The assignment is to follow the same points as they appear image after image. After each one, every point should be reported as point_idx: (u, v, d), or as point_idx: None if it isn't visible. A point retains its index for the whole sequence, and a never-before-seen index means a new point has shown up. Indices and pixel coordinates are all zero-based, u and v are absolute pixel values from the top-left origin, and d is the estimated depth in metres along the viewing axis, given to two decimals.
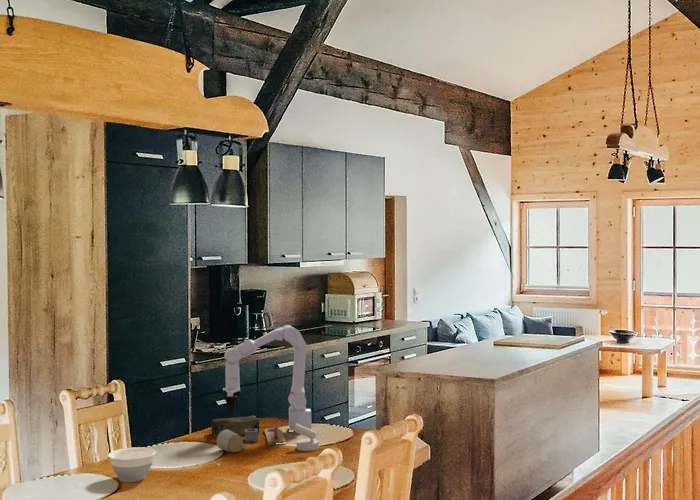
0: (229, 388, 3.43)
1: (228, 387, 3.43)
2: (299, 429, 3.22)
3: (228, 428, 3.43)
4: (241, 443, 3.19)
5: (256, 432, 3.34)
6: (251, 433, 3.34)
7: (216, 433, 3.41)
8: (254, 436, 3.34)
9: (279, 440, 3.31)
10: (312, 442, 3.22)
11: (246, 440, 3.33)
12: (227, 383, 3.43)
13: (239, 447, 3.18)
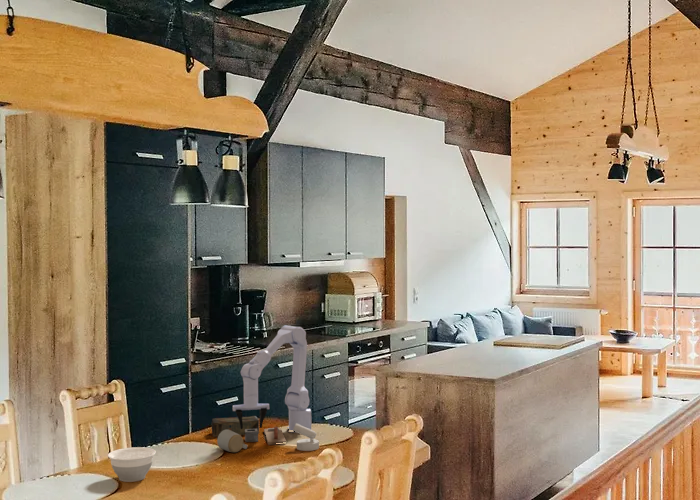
0: None
1: None
2: (299, 429, 3.22)
3: (226, 428, 3.43)
4: (242, 443, 3.19)
5: (256, 432, 3.34)
6: (251, 433, 3.34)
7: (214, 432, 3.42)
8: (254, 436, 3.34)
9: (279, 440, 3.31)
10: (312, 442, 3.22)
11: (246, 440, 3.33)
12: None
13: (240, 447, 3.18)
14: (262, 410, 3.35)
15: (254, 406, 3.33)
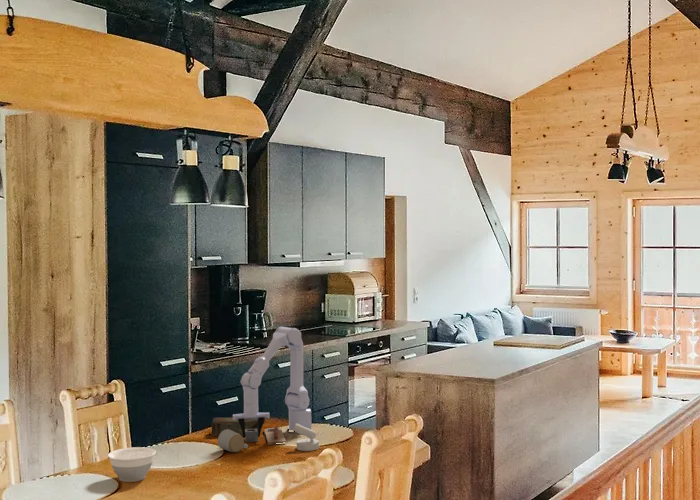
0: None
1: None
2: (299, 429, 3.22)
3: (225, 427, 3.44)
4: (242, 443, 3.19)
5: (256, 432, 3.34)
6: (251, 433, 3.34)
7: (213, 432, 3.44)
8: (254, 436, 3.34)
9: (279, 440, 3.31)
10: (312, 442, 3.22)
11: (246, 440, 3.33)
12: None
13: (240, 447, 3.18)
14: (262, 419, 3.35)
15: (254, 415, 3.34)
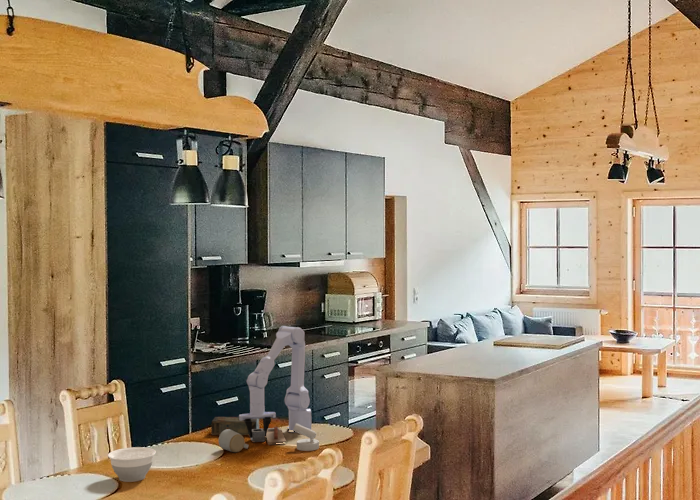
0: (250, 412, 3.35)
1: None
2: (299, 429, 3.22)
3: (224, 427, 3.45)
4: (243, 443, 3.19)
5: (263, 432, 3.34)
6: (258, 433, 3.33)
7: (212, 431, 3.45)
8: (261, 436, 3.34)
9: (279, 440, 3.31)
10: (312, 442, 3.22)
11: (253, 440, 3.33)
12: None
13: (241, 447, 3.19)
14: (269, 419, 3.35)
15: (261, 415, 3.33)
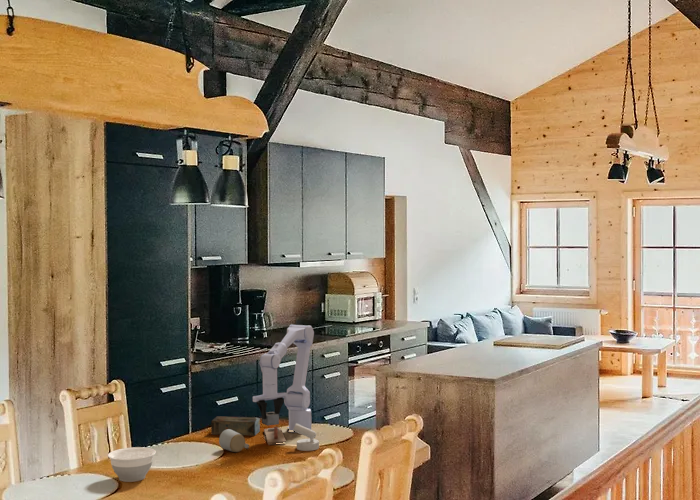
0: (263, 394, 3.33)
1: None
2: (299, 429, 3.22)
3: (223, 426, 3.46)
4: (243, 443, 3.19)
5: (277, 415, 3.33)
6: (272, 416, 3.32)
7: (212, 430, 3.47)
8: (275, 419, 3.33)
9: (279, 440, 3.31)
10: (312, 442, 3.22)
11: (268, 423, 3.31)
12: None
13: (241, 447, 3.19)
14: (282, 399, 3.35)
15: (275, 396, 3.32)
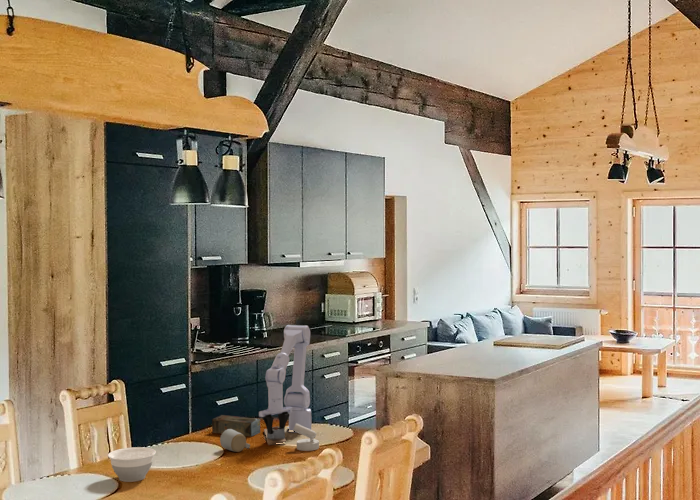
0: (268, 408, 3.33)
1: (268, 407, 3.33)
2: (299, 429, 3.22)
3: (222, 426, 3.47)
4: (244, 442, 3.20)
5: (283, 429, 3.33)
6: (279, 431, 3.32)
7: (213, 428, 3.49)
8: (281, 433, 3.33)
9: (279, 440, 3.31)
10: (312, 442, 3.22)
11: (274, 438, 3.31)
12: None
13: (242, 446, 3.19)
14: (287, 413, 3.35)
15: (281, 410, 3.32)
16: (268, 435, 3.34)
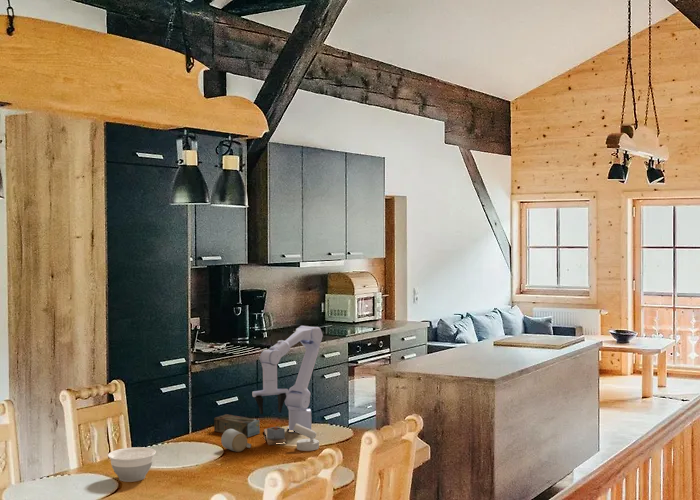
0: (263, 389, 3.39)
1: None
2: (299, 429, 3.22)
3: (223, 425, 3.49)
4: (246, 442, 3.20)
5: (283, 429, 3.33)
6: (279, 431, 3.32)
7: (214, 427, 3.52)
8: (281, 433, 3.33)
9: (279, 440, 3.31)
10: (312, 442, 3.22)
11: (274, 438, 3.31)
12: None
13: (244, 446, 3.19)
14: (282, 395, 3.40)
15: (274, 391, 3.37)
16: (268, 435, 3.34)
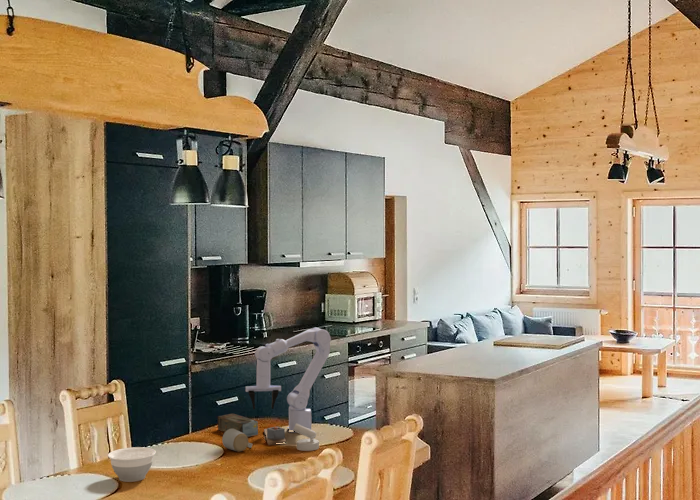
0: None
1: None
2: (299, 429, 3.22)
3: (224, 424, 3.50)
4: (247, 442, 3.20)
5: (283, 429, 3.33)
6: (279, 431, 3.32)
7: (218, 426, 3.54)
8: (281, 433, 3.33)
9: (279, 440, 3.31)
10: (312, 442, 3.22)
11: (274, 438, 3.31)
12: None
13: (245, 446, 3.20)
14: (274, 392, 3.46)
15: (266, 387, 3.44)
16: (268, 435, 3.34)
